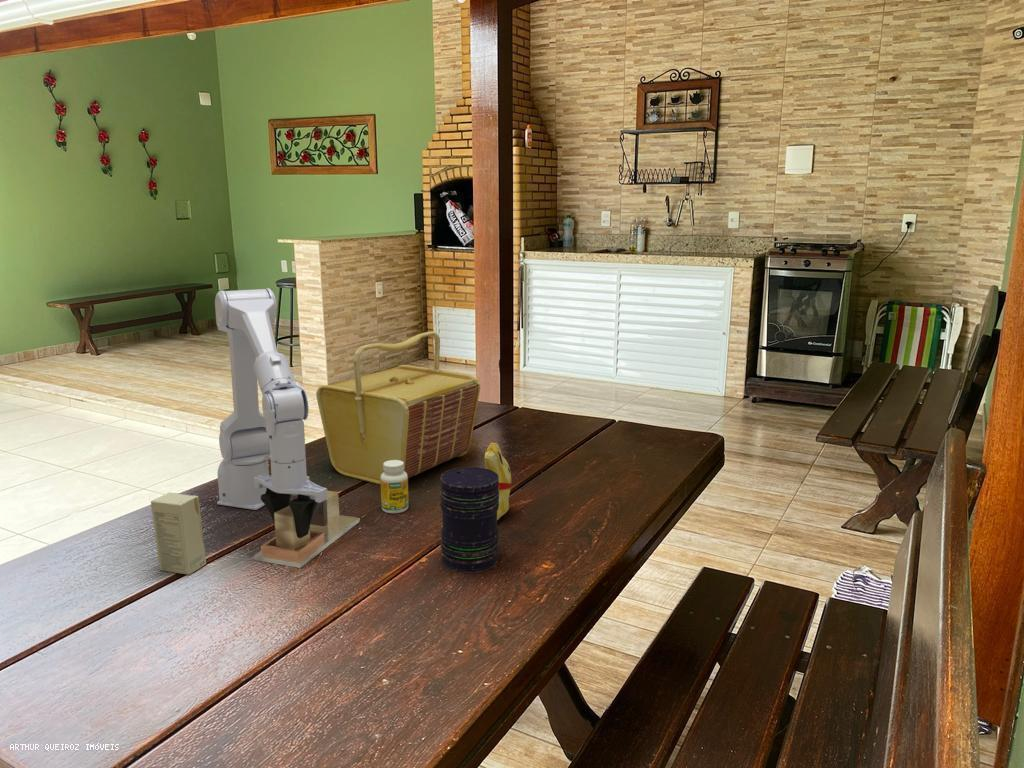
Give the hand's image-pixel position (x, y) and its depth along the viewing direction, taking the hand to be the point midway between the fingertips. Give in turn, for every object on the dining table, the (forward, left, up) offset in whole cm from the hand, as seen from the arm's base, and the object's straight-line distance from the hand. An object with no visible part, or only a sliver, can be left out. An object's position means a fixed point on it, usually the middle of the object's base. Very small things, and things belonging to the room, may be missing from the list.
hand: (292, 533), depth 131 cm
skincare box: (-14, -11, -4) cm, 18 cm away
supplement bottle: (+8, +23, -4) cm, 25 cm away
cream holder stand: (0, +5, -3) cm, 6 cm away
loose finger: (0, 0, -2) cm, 2 cm away
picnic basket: (-2, +47, -4) cm, 47 cm away
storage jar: (+30, +7, -4) cm, 31 cm away
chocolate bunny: (+27, +26, -4) cm, 38 cm away
